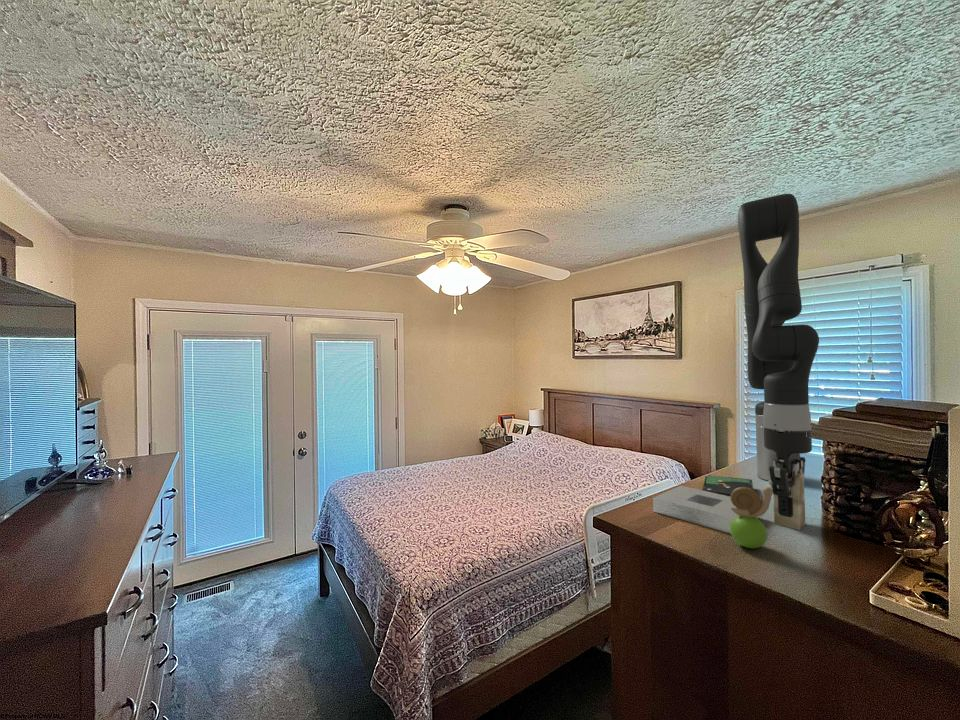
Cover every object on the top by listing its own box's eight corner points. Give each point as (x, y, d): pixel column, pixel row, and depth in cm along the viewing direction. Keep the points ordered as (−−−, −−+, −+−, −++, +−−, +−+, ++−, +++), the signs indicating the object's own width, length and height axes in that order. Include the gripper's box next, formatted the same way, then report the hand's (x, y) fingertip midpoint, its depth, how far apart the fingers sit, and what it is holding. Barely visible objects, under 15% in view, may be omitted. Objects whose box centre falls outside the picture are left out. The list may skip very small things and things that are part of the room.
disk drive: (755, 509, 89) (752, 489, 101) (755, 496, 89) (751, 478, 101) (702, 501, 94) (705, 483, 107) (701, 489, 94) (705, 473, 107)
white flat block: (681, 498, 95) (680, 485, 95) (759, 517, 83) (758, 502, 83) (653, 511, 88) (653, 497, 88) (735, 535, 75) (734, 519, 75)
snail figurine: (776, 558, 66) (774, 485, 66) (730, 549, 69) (728, 480, 69) (773, 545, 71) (771, 477, 71) (730, 537, 74) (728, 472, 74)
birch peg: (780, 518, 82) (779, 469, 82) (805, 524, 79) (803, 473, 79) (774, 523, 80) (772, 473, 80) (799, 529, 76) (797, 477, 76)
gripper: (775, 420, 87) (778, 499, 87) (751, 428, 78) (754, 516, 78) (820, 423, 81) (823, 509, 81) (799, 433, 72) (802, 528, 72)
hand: (789, 512), depth 79 cm, fingers closed on birch peg, 4 cm apart
